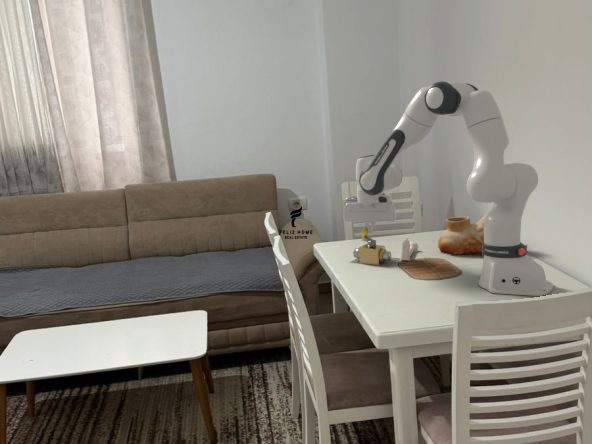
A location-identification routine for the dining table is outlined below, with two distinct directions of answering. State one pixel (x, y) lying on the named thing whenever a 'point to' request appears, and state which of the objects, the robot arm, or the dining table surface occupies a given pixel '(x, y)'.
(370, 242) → the valve lever
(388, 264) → the valve base plate
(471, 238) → the ceramic vessel
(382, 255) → the valve body
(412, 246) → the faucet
